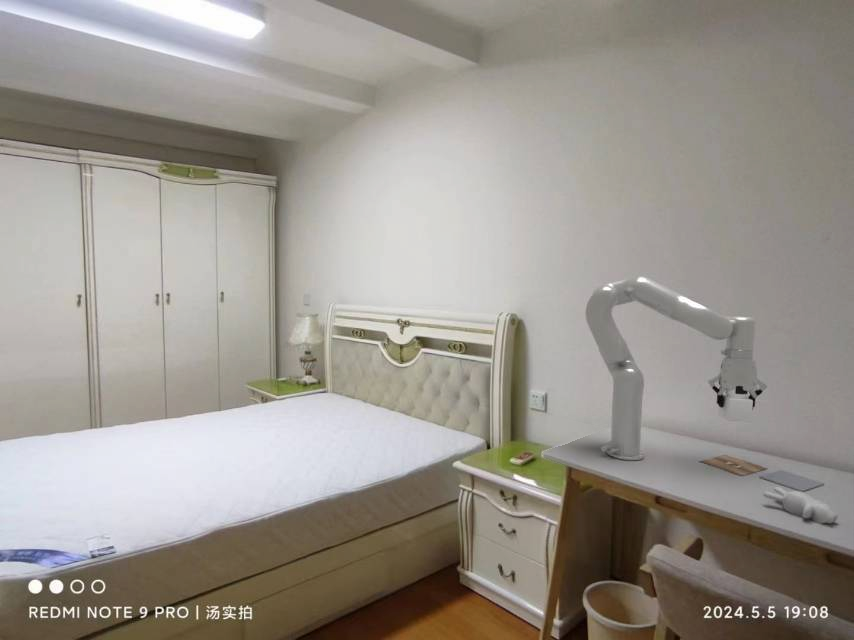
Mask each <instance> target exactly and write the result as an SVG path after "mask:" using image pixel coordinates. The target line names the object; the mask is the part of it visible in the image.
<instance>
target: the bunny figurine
mask: <svg viewBox="0 0 854 640" xmlns="http://www.w3.org/2000/svg"><path fill="white" fill-rule="evenodd" d="M773 491H774V492H776V493H774V492H772V491H768V490H765V491H764V492H763V498H766V499H771V500H775V501H780V502H781V503H782V505H783V507H784V510H785V511H787V512H788V513H791V514H793V515H794V516H795V515H796V516H800V517H802V518H805V519H812V521H813V522H815V523H818V524H826V523H828V524H832V523H834V522H836V521H837V520H838V517H839V514H838V513H836V511H835V510H834V509H833V508H832V506H830V505H829V504H827V503H825V502H823V500H818V499H815V498H813V497H812V496H811V495H810V494H808V493H806V492H800V491H797V490H793V491H786V490H785V489H784V488H782V487H780V486H774V487H773Z"/></svg>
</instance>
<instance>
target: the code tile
mask: <svg viewBox="0 0 854 640" xmlns="http://www.w3.org/2000/svg"><path fill="white" fill-rule="evenodd" d="M699 463H702V464H704V463H705V464H704V465H707V464H708V466H710V465H711V467H713V466H714V468H716V467H717V469H719V468H720V469H719V470H722V469H723V470H722V471H725V472H727V471H728V473H730V472H731V474H733V473H734V475H736V474H737V476H739V475H740V477H744V476H748V475H751V474H755V473H758V472H760V470H762V471H765V470H768V469H767V467H764V466H761V465H759V464H755V463H753V462H749V461H747V460H742V459H739V458H736V457H733V456H730V455H726V454H723V455H719V456H715V457H714V456H713V457H711V458H707V459H702V460H699ZM764 469H765V470H764ZM757 471H758V472H757ZM747 474H748V475H747Z"/></svg>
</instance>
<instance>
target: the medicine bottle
mask: <svg viewBox="0 0 854 640" xmlns="http://www.w3.org/2000/svg"><path fill="white" fill-rule="evenodd" d="M748 393H749V392H748V391H745V390H743V386H736V389H734V390H729V389H726V390H725V393H723V396H724V401H723V407H720V406H719V405H718V416H720V417H722V418H723V419H724V420H726V421H730V422H744V423H745V422H746V423H747V422H749V423H751V422H752V420H753V419H752V417H753V410H752V407H753V400H751V399H749V398H748ZM753 408H754V407H753Z"/></svg>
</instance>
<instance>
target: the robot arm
mask: <svg viewBox="0 0 854 640" xmlns="http://www.w3.org/2000/svg"><path fill="white" fill-rule="evenodd" d="M634 302H637V303H639V304H641V305H643V306H645V307H647V308H649V309H651V310H653V311H655V312H657V313H659V314H661V315H662V316H664V317H667V318H668V319H671V320H673V321H676V322H679V323H682V324H685V325H686V326H688V327H691V328H692V329H694V330H696V331H698V332H700V333H702V334H703V335H704V336H707V337H709V338H712V339H713V340H716V341H718V340H719V341H721V340H726V342H725V343H726V344H725V349H721V350H720V354H721V355H724V357H723V358H722V361H721V364H720V369H719V374H718V375H717V376H715V377H713V378H711V379H709V380H708V381H707V383H708V384H709V386H710V388H711V389H712V390H713V391H714V392H715V393H716V404H717V405H718V407H719V406H720V407H723V401H724V396H723V394H725V392H726V389H729V390H734V389H736V386H743V390H745V391H748V392H747V393H748V394H749V395H747V398H749V399H751V400H753V407H752V411H753V410H754V408H755V407H756V399H757V398H758V397H759V396H760V395H761V394H763V392H764V391H765V390H766V389H767V388H768V385H767V384H765V383H764V382H763V381H761V380H759V379H758V370H757V369H758V368H757V367H758V366H757V362H756V359H754V347H755V346H754V345H755V334H756V333H755V332H756V320H755V318H754V317H752V316H750V317H749V316H742V315H741V316H740V315H738V316H735V315H734V316H724V315H722V314H720V313H718V312H716V311H714V310H712V309H710V308H707V307H705V306H704V305H701V304H699V303H697V302H696V301H694V300H692V299H690V298H688V297H686V296H685V295H683V294H681V293H678V292H677V291H675V290H673V289H671V288H669V287H667V286H665V285H663V284H660V283H659V282H658V281H657V282H656V281H654V280H653V279H652V278H649V277H647V276H644V275H638V276H633V277H630V278H629V277H628V278H626V279H623V280H617V281H614V282H608V283H606V284H605V283H604V284H601V285H598V286H597V287H595V289H594V290H593V292H592V294H591V296H590V297H589V299H588V301H587V302H586V303H587V304H586V308H585V320H586V323H587V326H588V328H589V331H590V332H591V335H592V337H593V340H594V341H595V343H596V346H597V348H598V352H599V354H600V356H601V357H602V359H603V361H604V364H605V366H606V367H607V369H608V371H609V373H610V375H611V378H612V382H613V387H612V388H613V389H612V403H611V404H612V405H611V431H610V433H611V435H610V436H611V437H610V440H609V441H608V444H607V445H603V446H601V447H600V448H601V451H602V452H603V453H606V452H607V453H608V454H609V455H608V454H607V453H606V454H607V455H608V456H610V455H611V456H610V457H612V456H613V457H612V458H614V459H615V458H616V459H618V460H624V461H639V460H643V459H644V458H645V455H646V453H645V452H644V451H643V450H641V436H642V418H643V417H642V413H643V412H642V411H643V408H642V407H643V398H644V397H643V396H644V389H645V378H644V374H643V372H642V371H641V369H640V368H639V367H638V364H637V363H636V361H635V359H634V358H633V355H632V353H631V351H630V349H629V346H628V344H627V342H626V340H625V339H624V338H623V336H622V334H621V332H620V330H619V329H618V326H617V324H616V322H615V320H614V318H613V313H612V312H613V309H614V308H615V307H616V306H620V305H625V304H628V303H634ZM717 382H718V385H719V387H717V386H716V384H715V383H717ZM758 385H759V387H758ZM757 387H758V388H757Z"/></svg>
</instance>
